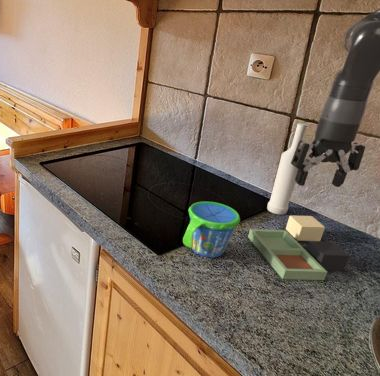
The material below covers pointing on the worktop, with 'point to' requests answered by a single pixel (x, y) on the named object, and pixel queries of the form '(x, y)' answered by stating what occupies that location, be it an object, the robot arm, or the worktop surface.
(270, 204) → the bottle
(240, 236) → the worktop surface
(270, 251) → the frame
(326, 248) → the dark gray block
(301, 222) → the foam pad
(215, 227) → the snack cup
